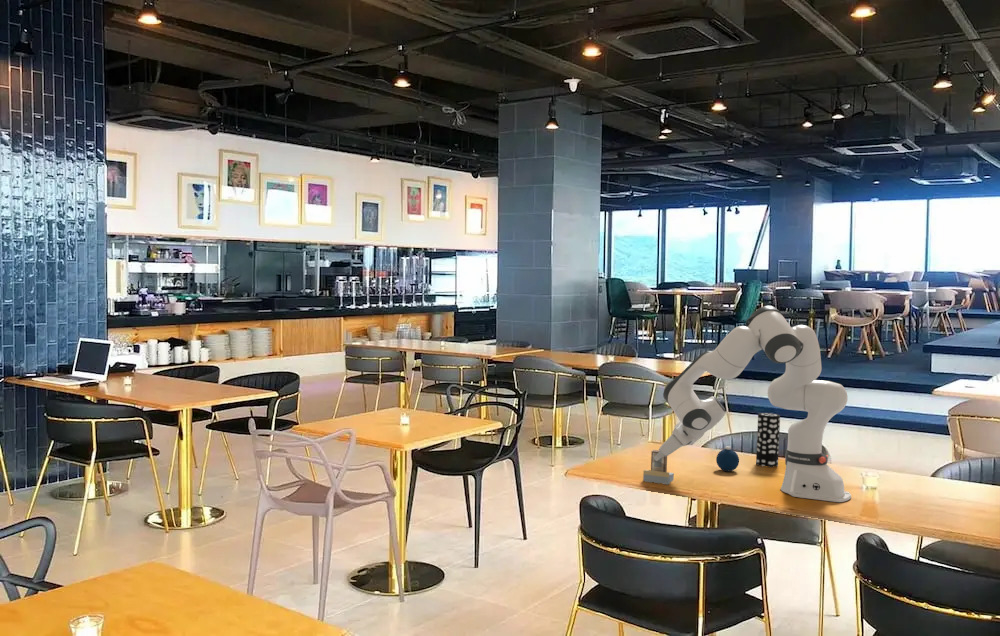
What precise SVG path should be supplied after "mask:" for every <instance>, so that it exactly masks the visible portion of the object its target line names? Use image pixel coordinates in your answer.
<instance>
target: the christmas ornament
mask: <svg viewBox="0 0 1000 636" xmlns="http://www.w3.org/2000/svg"><path fill="white" fill-rule="evenodd" d="M715 461H716V464H717V466H718V468H719V469H721V470H722V471H724V472H732V471H735V470H736V469H737V468H738V466H739V464H740V457H739V455H738V453H737V452H736V451H735V450H733V449H732V447H731V445H727V446H725V448H723V449H721V450H720V451H719V452H718V453H717V455H716V459H715Z"/></svg>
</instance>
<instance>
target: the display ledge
mask: <svg viewBox="0 0 1000 636" xmlns="http://www.w3.org/2000/svg"><path fill="white" fill-rule="evenodd" d="M674 474H675V473H674V472H670V471H669V472H668V471H667V472H659V471H651V469H643V474H642V475H643V477H642V479H643V480H642V481H643V482H644V481H645V482H646V483H652V482H654V483H653V484H660V483H662V484H661V485H669V484H671V483H672V482H673V481H674V476H675V475H674ZM670 482H671V483H670Z"/></svg>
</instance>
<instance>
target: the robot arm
mask: <svg viewBox="0 0 1000 636" xmlns="http://www.w3.org/2000/svg"><path fill="white" fill-rule="evenodd" d="M762 350H763V351H764V354H765V355H766V357H767V358H768V359H769V360H770V361H771V362H773V363H775V364H785V371H784V373H783V374H782V375H780V376H778V377H777V378H774V379H773V380H772V381H771V382H770V383H769V386H768V388H767V398H768V401H769V402H770V404H771V405H772V406H774V407H776V408H780V409H784V410H790V411H801V412H807V416H806V418H804V419H801V420H798V421H796V422H794V423H792V424H791V425H789V427H788V430H787V448H786V450H785V451H786V452H785V455H784V456H785V457H784V462H785V463H784V464H785V470H784V471H785V472H784V475H783V481H782V485H781V487H780V490H781V491H782V492H783V493H786V494H788V495H790V496H791V497H793V498H795V497H796V498H801V499H811V500H819V501H825V502H834V503H843V502H844V503H845V502H847V501H849V500H851V498H852V494H851V493H850V492H849V491H845V483H844V479H843V477H842V476H841V475H839V473H837V472H836V471H835V470H834V469H832V467H830V465H828V456H829V455H828V454H824V453H823V452H822V451H823V450H822V447H823V446H822V445H823V438H824V437H823V436H824V432H825V428H826V426H827V424H828V423H829V421H830V420H831V419H832V418H833V417H834V416H835V415H837V414H839V413H840V412H841V411H843V410H844V409H845V407H846V405H847V402H848V393H847V391H846V388H845V387H844V386H843V385H842V384H841V383H838V382H834V381H831V380H822V379H821V380H820V379H818V378H819V376H820V375H821V374H822V373H821V372H822V368H823V367H822V359H821V358H822V355H821V348H820V343H819V340H818V337H817V334H816V332H815V330H814V329H813V328H812V327H810V326H808V325H805V324H798V325H797V324H796V325H795V326H791V325H790V324H789V321H787V320H786V318H785V317H784V316H783V314H782V312H781V311H780V310H779V309H777V308H776V307H775V306H772V305H764V306H762V307H761V306H760V307H759V308H758V309H756V310H755V311H754V312H753V313H751V315H750V316H749V317H748V318H747V319H746V322H745V325H739V326H735V327H734V328H733V329H731V331H730V332H729V333H728V334H727V335H725V337H723V339H722V340H721V341H720V343H719V344H718V345H717V346H716V347H715V349H713V350H708V351H707V350H706V351H704V352H702V353H701V354H700V355H698V356H697V357H696V358H695V359H694V360H692V362H690V364H689V365H688V366H686V368H685V369H684V370H683V371H682V372H681V373H680V374H678V376H676V377H675V378H674V379H672V380H671V381H670V382H668V383H666V385H665V387H664V389H663V390H664V391H663V395H662V397H663V400H665V402H666V403H667V404H668V405H669V407H670V408H671V410H672V411H673V412H674V414H675V416H676V417H677V418H678V420H679V422H678V423H676V424H675V426H674V428H673V431H672V432H671V433H672V434H671V435H670V436H669V437H668V438H667V439H666V440H665V441H664V442H663V443H662V444H661V445H660V447H659V449H658V450H659V451H660V452H659V453H658V454H657V455H656V456H655V457H654V459H655V460H656V461H658V460H659V459H660V458H662V457H663V456H664V457H666V456H667V457H669V456H670V455H671V454H673V453H674V452H676V451H677V450H678V449H679V450H680V448H682V447H686V446H693V445H694V444H695V443H696V442H697V441H699V440H700V439H701V438H702V437H703V436H704V435H705V433H706V432H708V431H710V430H711V429H713V428H714V427H715V426H716V425H717V424H718V423H719V422H720V421H721V420H722V419H723V418H724V417H725V415H726V409H725V407H724V405H723V404H722V403H721V402H720V400H719V398H717V397H716V396H713V395H711V396H709V397H708V398H707V399H705V400H704V399H700V398H699V397H698V395H697V394H696V392H695V391H694V387H693V385H694V383H695V382H696V381H697V380H698V379H699V378H701V377H702V376H703V375H704V374H705V373H706V372H707V373H708V374H710V375H712V376H714V377H716V378H718V379H720V380H721V379H723V380H731V379H735V378H737V377H738V376H740V375H741V373H742V372H743V371H744V370H745V369H746V367H747V366H748V365H749V363H750V362H751V360H752V359H753V357H754V355H756V354H757V353H758V352H760V351H762Z"/></svg>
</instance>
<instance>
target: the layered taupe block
mask: <svg viewBox="0 0 1000 636" xmlns="http://www.w3.org/2000/svg"><path fill="white" fill-rule="evenodd" d="M659 452H660V451H659V449H658V450H657V449H652V450H651V453H650V454H651V457H650V470H651V471H659V472H668V471H667V470H668V469H667V467H668V456H666V457H664V456H663V457H662V458H660V459H659V460H658V461H656V460H655V459H654V457H655V456H656V455H657V454H658V453H659Z"/></svg>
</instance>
